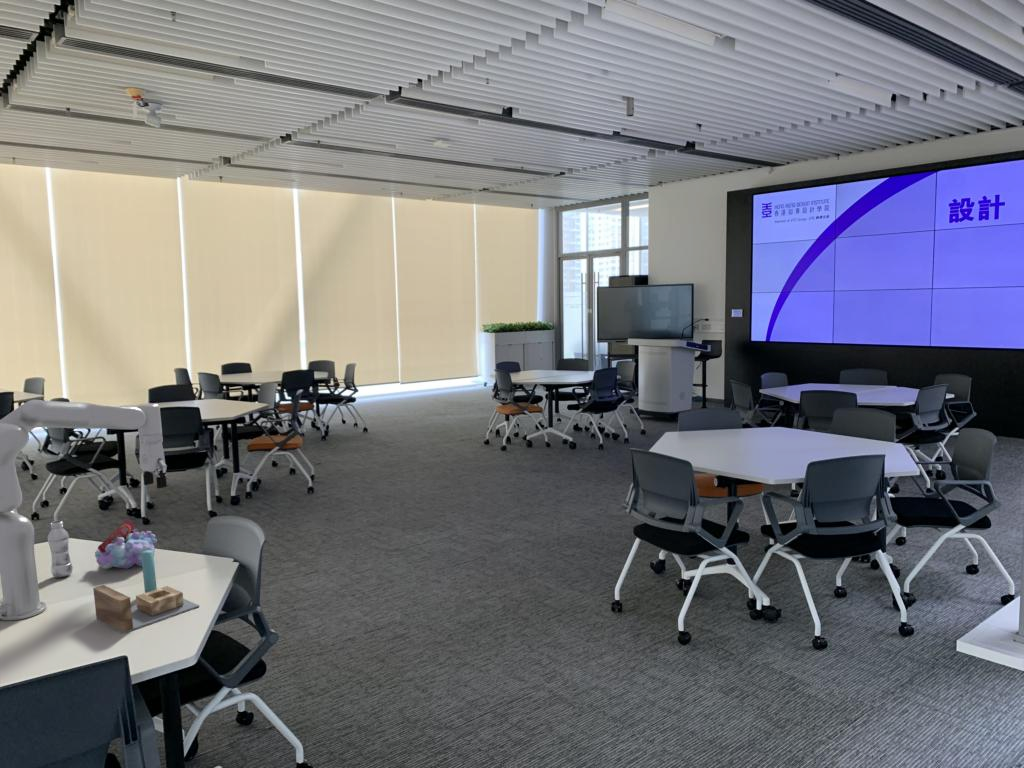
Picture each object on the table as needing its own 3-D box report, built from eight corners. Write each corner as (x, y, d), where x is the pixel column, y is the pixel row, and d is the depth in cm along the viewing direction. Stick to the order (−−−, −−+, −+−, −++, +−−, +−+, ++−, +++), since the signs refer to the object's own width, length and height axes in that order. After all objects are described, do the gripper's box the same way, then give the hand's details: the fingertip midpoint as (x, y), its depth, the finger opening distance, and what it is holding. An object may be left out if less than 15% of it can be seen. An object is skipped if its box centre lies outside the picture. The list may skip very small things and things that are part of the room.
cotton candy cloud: (137, 563, 269) (147, 514, 277) (76, 563, 269) (87, 514, 276) (160, 575, 288) (169, 528, 295) (103, 575, 287) (113, 528, 295)
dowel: (148, 595, 251) (144, 554, 250) (143, 593, 254) (139, 552, 252) (158, 591, 254) (155, 551, 252) (153, 589, 256) (149, 549, 255)
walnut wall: (122, 632, 222) (119, 600, 220) (96, 617, 233) (93, 587, 232) (133, 628, 224) (130, 597, 223) (106, 614, 235) (103, 584, 234)
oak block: (152, 615, 232) (150, 603, 232) (136, 608, 238) (135, 596, 238) (183, 604, 240) (182, 592, 239) (168, 597, 246) (167, 586, 246)
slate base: (122, 633, 222) (122, 632, 222) (96, 619, 233) (96, 617, 233) (199, 606, 240) (199, 605, 240) (171, 594, 251) (171, 593, 251)
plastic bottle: (66, 579, 270) (60, 524, 268) (47, 579, 270) (41, 525, 268) (77, 572, 276) (71, 519, 274) (58, 573, 277) (53, 519, 274)
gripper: (129, 438, 272) (133, 485, 274) (151, 442, 261) (156, 491, 263) (150, 435, 278) (154, 480, 280) (173, 439, 267) (177, 486, 269)
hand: (155, 485), depth 272 cm, fingers open, 9 cm apart
